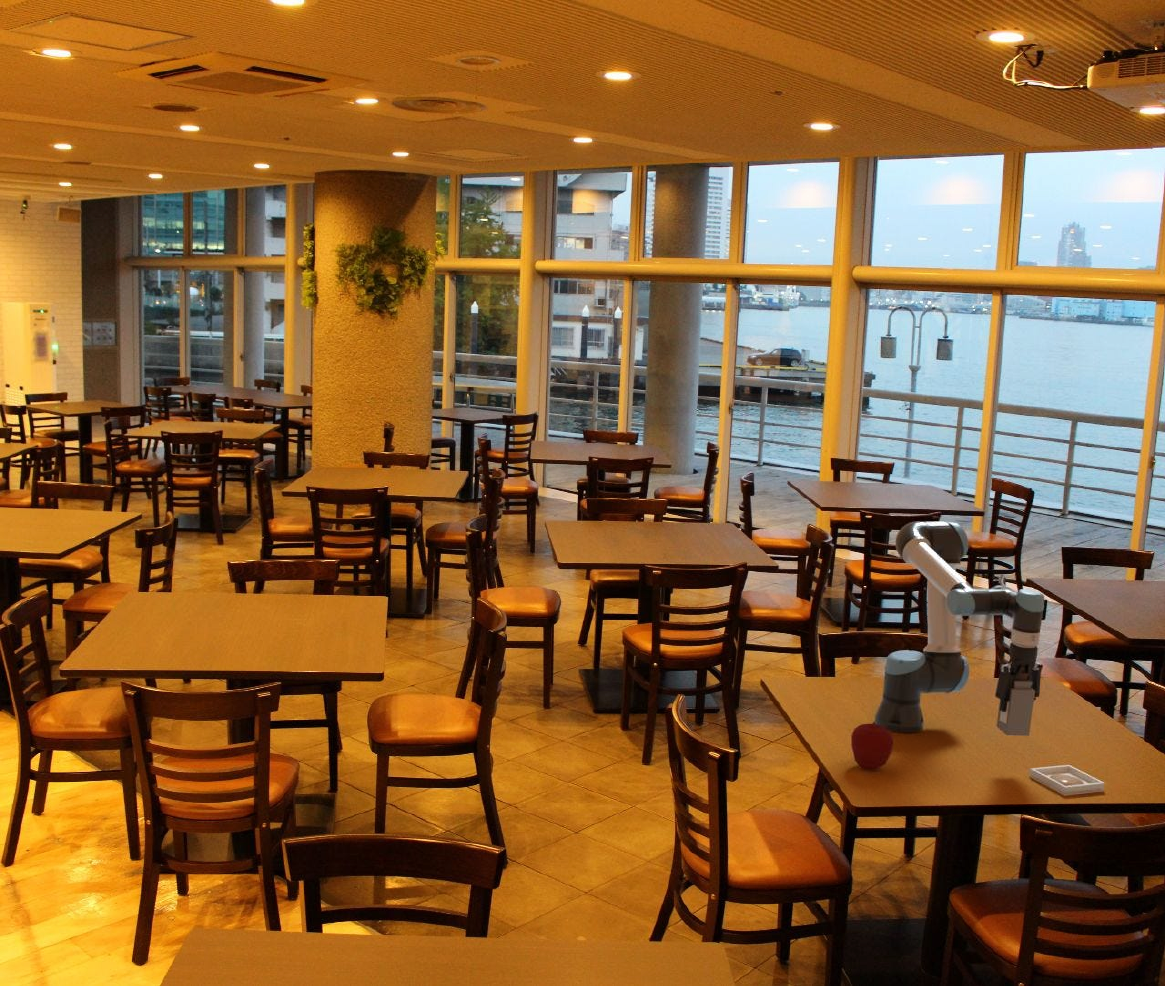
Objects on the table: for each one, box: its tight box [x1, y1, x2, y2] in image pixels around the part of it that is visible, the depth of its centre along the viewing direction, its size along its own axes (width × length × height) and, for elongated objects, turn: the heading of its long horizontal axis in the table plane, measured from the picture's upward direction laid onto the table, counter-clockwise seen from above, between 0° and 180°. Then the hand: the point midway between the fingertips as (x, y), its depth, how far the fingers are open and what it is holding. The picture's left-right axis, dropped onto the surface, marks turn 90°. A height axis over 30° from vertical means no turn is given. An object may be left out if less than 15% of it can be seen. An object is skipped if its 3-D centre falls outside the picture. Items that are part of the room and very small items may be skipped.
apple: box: [850, 722, 894, 771], centre depth 351 cm, size 12×12×13 cm
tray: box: [1029, 764, 1106, 796], centre depth 349 cm, size 14×14×2 cm
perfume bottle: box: [996, 672, 1035, 737], centre depth 355 cm, size 7×7×18 cm
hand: (1013, 721), depth 356 cm, fingers closed on perfume bottle, 6 cm apart
